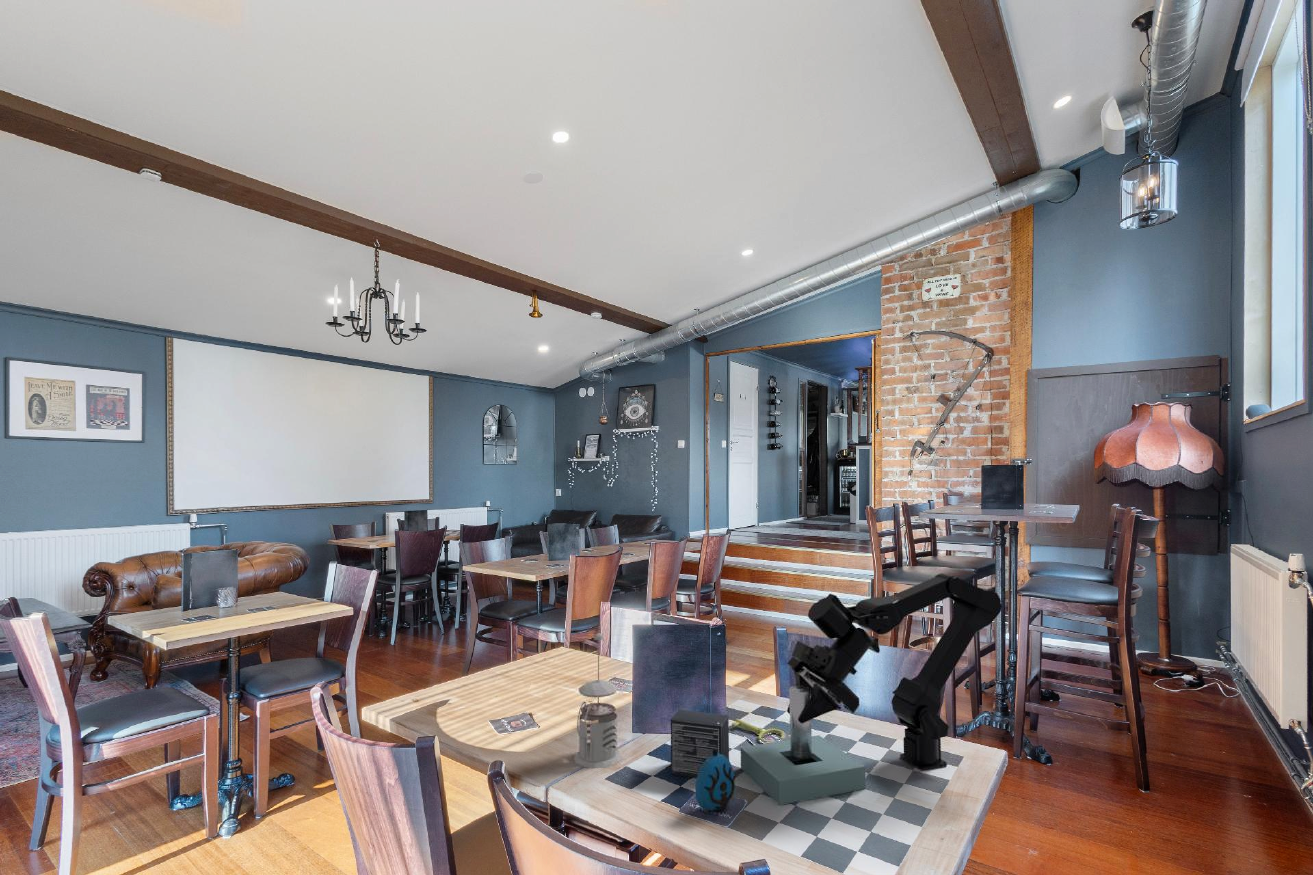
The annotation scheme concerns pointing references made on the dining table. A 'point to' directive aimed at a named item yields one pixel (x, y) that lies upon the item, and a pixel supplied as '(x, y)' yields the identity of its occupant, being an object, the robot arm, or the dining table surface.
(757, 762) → the box
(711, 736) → the small box
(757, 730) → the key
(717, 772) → the ornament
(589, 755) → the french press
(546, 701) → the dining table surface
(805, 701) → the tube
